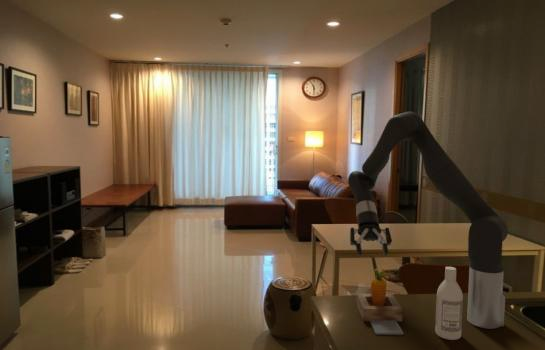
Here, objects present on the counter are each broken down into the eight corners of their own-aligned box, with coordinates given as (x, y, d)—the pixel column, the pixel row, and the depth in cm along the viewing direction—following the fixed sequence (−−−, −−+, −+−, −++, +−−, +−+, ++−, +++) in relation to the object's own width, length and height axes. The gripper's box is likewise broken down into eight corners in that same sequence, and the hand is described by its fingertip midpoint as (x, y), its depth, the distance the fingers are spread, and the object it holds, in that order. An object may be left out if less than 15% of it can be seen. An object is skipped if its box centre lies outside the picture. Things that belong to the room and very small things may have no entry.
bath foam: (466, 338, 116) (469, 271, 114) (445, 342, 114) (448, 273, 112) (450, 327, 123) (453, 263, 121) (430, 330, 121) (432, 265, 119)
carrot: (383, 309, 136) (384, 265, 134) (388, 316, 131) (389, 270, 129) (368, 309, 135) (369, 265, 134) (372, 316, 130) (373, 271, 129)
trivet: (396, 322, 126) (396, 320, 126) (403, 335, 118) (403, 333, 118) (370, 322, 127) (370, 320, 127) (375, 334, 119) (375, 332, 119)
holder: (391, 305, 139) (392, 293, 138) (402, 321, 127) (402, 309, 126) (356, 304, 139) (356, 293, 139) (363, 321, 127) (363, 308, 127)
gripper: (348, 210, 149) (353, 249, 138) (388, 210, 148) (395, 249, 138) (346, 221, 154) (350, 260, 144) (384, 221, 154) (391, 260, 144)
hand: (372, 255), depth 141 cm, fingers open, 8 cm apart
